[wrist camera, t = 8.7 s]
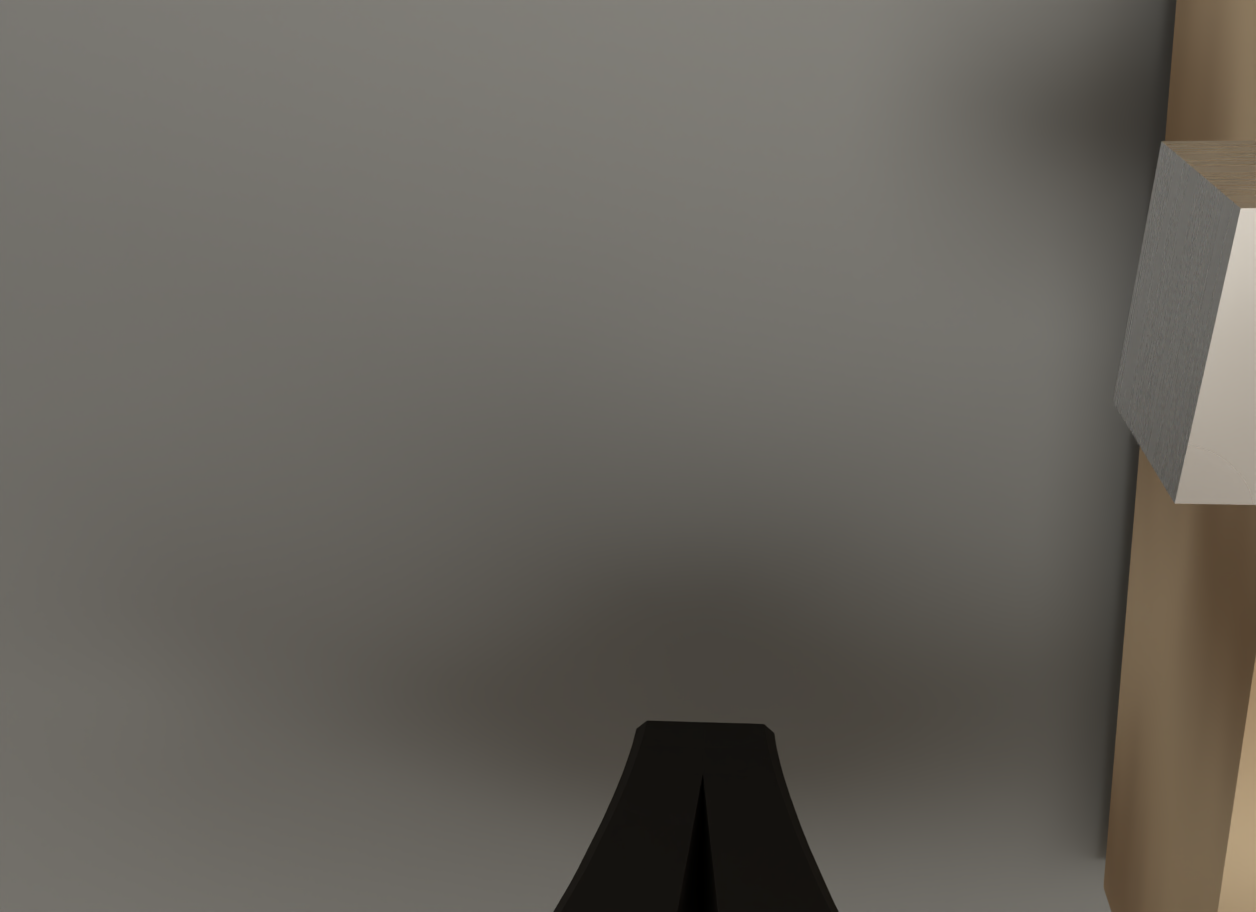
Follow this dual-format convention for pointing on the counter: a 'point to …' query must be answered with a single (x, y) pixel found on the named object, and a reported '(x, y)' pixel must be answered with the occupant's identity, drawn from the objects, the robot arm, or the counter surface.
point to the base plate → (561, 437)
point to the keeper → (1196, 325)
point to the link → (1190, 600)
